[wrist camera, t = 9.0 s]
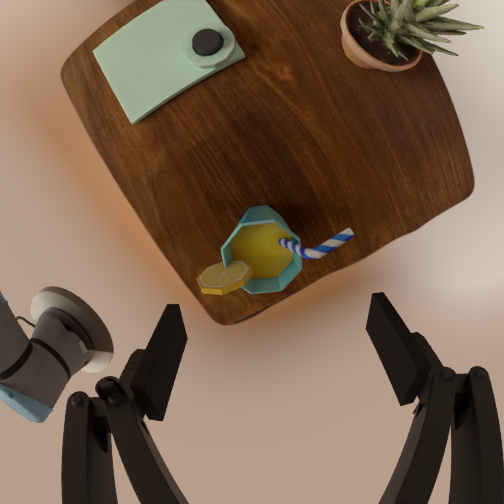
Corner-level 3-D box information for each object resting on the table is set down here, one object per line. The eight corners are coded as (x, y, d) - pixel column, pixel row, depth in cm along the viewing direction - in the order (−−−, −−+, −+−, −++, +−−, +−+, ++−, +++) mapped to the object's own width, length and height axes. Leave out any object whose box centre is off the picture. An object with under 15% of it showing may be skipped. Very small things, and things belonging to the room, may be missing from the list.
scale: (135, 124, 30) (125, 123, 27) (96, 52, 25) (85, 48, 22) (245, 57, 26) (244, 49, 24) (194, -12, 22) (190, -22, 19)
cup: (302, 167, 32) (335, 189, 18) (329, 221, 34) (371, 275, 20) (204, 222, 35) (170, 278, 21) (236, 269, 37) (224, 344, 23)
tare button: (202, 59, 24) (199, 55, 23) (190, 41, 23) (187, 36, 22) (226, 47, 24) (224, 42, 22) (214, 29, 23) (211, 24, 21)
